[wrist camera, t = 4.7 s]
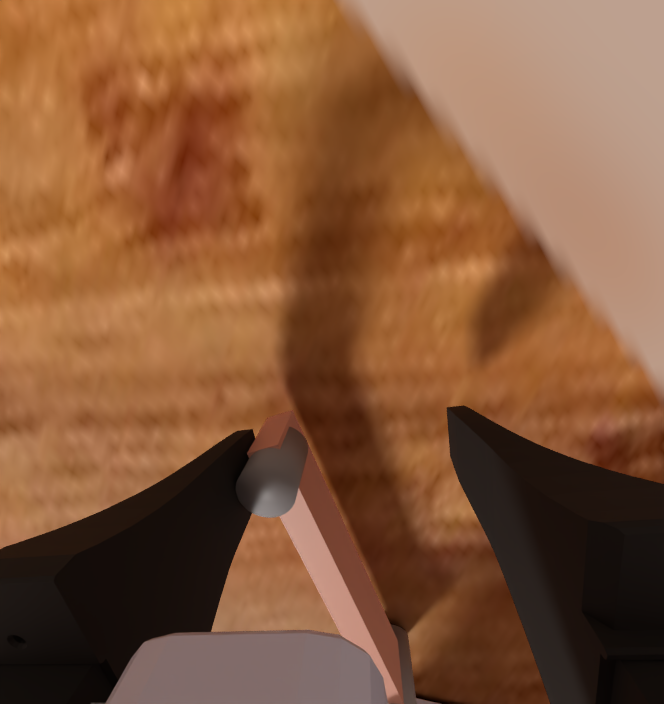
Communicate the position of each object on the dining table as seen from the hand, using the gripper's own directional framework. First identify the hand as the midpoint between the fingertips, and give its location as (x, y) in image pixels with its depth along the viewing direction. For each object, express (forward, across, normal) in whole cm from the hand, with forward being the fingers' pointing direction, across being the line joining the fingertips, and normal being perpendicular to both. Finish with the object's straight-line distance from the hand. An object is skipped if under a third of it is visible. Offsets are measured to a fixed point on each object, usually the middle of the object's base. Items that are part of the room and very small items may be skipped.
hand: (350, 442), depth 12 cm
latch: (+2, +1, +7) cm, 8 cm away
